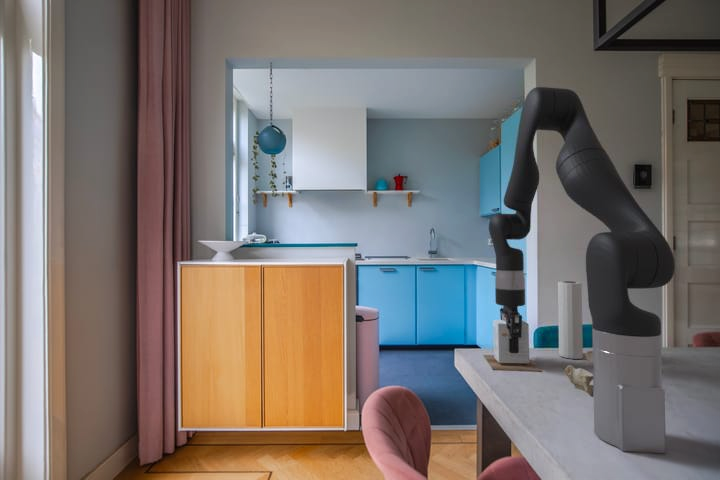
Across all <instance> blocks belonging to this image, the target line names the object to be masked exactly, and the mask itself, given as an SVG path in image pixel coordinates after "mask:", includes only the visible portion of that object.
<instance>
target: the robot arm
mask: <svg viewBox="0 0 720 480" xmlns="http://www.w3.org/2000/svg"><path fill="white" fill-rule="evenodd" d="M539 130H540V131H554V132H556V133H558V134H560V136H561V137H562V139H563V141H564V143H563V145H562V147H561V149H560V150H559V153H558V155H557V159H556V162H555V171H556V174H557V177H558V179H559V180H560V183H561V185H562V187H563V189H564V192H565V193H566V195H567V196H568V197H569V198H570V200H572V201H573V202H574V203H575V204H576V205H578V206H579V207H581V209H583V210H585V211H586V212H588V213H589V214H591V215H592V216H593V217H595V218H596V219H597V220H598V221H600V222H602V224H604V225H605V226H606V227H607V228H608V229H609V231H604V232H599V233H596V234H594V235H593V236H592V238H591V239H590V240H589V242H588V244H587V248H586V253H585V272H586V273H585V274H586V283H587V286H586V287H587V301H588V309H589V312H590V315H591V316H590V317H591V322H592V323H591V325H592V350H593V365H592V374H593V380H592V381H593V383H592V385H593V393H592V394H593V396H592V397H593V428H594V429H593V430H594V434H595V436H596V437H598V438H599V439H600V440H602V441H603V442H606V443H607V444H610V445H612V446H615V447H617V448H619V449H620V450H621V451H623V452H636V453H637V452H638V453H639V452H640V453H657V454H667V437H666V436H667V435H666V431H667V430H666V398H665V397H666V394H665V393H666V392H665V389H664V388H663V373H662V369H663V368H662V365H663V364H662V361H663V360H662V322H661V319H660V317H659V316H658V315H657V314H655V313H654V312H651V311H648V310H644V309H641V308H640V307H638V306H636V305H634V304H633V302H631V300H630V296H629V290H628V289H633V290H634V289H635V290H636V289H640V290H641V289H655V288H656V289H657V288H661V287H664V286H666V285H668V283H670V281H671V280H672V279H673V276H674V274H675V270H676V269H675V268H676V266H675V263H676V261H675V257H674V253H673V250H672V249H671V246H670V245H669V242H668V241H667V239H666V237H665V236H664V235H663V233H662V232H661V231H660V230H659V229H658V227H657V226H656V225H655V224H654V222H653V221H652V220H651V219H650V217H649V216H648V215H647V214H646V213H645V211H644V210H643V209H642V207H641V206H640V205H639V203H638V202H637V200H636V198H634V196H633V195H632V193H631V191H630V190H629V188H628V187H627V185H626V184H625V183H624V182H625V181H624V180H623V179H622V178H621V176H620V173H618V170H617V167H615V164H614V163H613V161H612V159H611V157H610V156H609V155H608V153H607V151H606V150H605V148H604V147H603V146H602V144H601V142H600V140H599V139H598V136H597V134H596V133H595V131H594V129H593V127H592V125H591V123H590V120H589V118H588V116H587V113H586V111H585V108H584V106H583V103H582V101H581V98H580V97H579V95H578V94H577V92H575V91H574V90H572V89H569V88H560V87H558V88H557V87H549V86H548V87H547V86H536V87H534V88H532V89H530V91H529V92H528V93H527V95H526V97H525V98H524V101H523V104H522V108H521V112H520V118H519V123H518V130H517V138H516V143H515V150H514V158H513V164H512V169H511V173H510V177H509V180H508V183H507V187H506V191H505V193H504V196H503V204H504V206H505V207H507V208H508V209H510V210H513V211H515V213H495V214H494V215H492V216H491V218H490V220H489V223H488V232H489V235H490V239H491V242H492V245H493V250H494V253H495V278H494V279H495V280H494V282H495V286H494V287H495V288H494V290H495V294H494V295H495V304H496V305H498V306H502V308H500V309H499V312H500V314H499V316H500V317H499V318H500V320H505V323H506V328H507V329H508V331H509V335H508V337H509V352H510V353H518V352H519V344H518V339H519V338H521V336H522V335H521V333H522V321H523V316H522V314H520V312H519V308H518V307H523V306H525V305H526V279H525V271H524V265H525V263H524V252H523V250H522V249H519V248H514V247H511V246H510V244H509V243H508V241H509V240H517V241H518V240H519V241H520V240H523V239H525V238H526V237H527V236H528V235H529V233H530V232H531V231H530V230H531V227H532V226H531V223H532V221H531V220H532V217H531V216H532V205H533V203H534V202H533V201H534V199H535V195H536V193H537V190H538V187H539V183H540V171H539V170H540V169H539V167H538V163H537V160H536V155H535V151H534V140H535V136H536V134H537V131H539ZM508 323H510V324H511V326H509V324H508ZM514 330H516V333H513V332H514Z"/></svg>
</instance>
